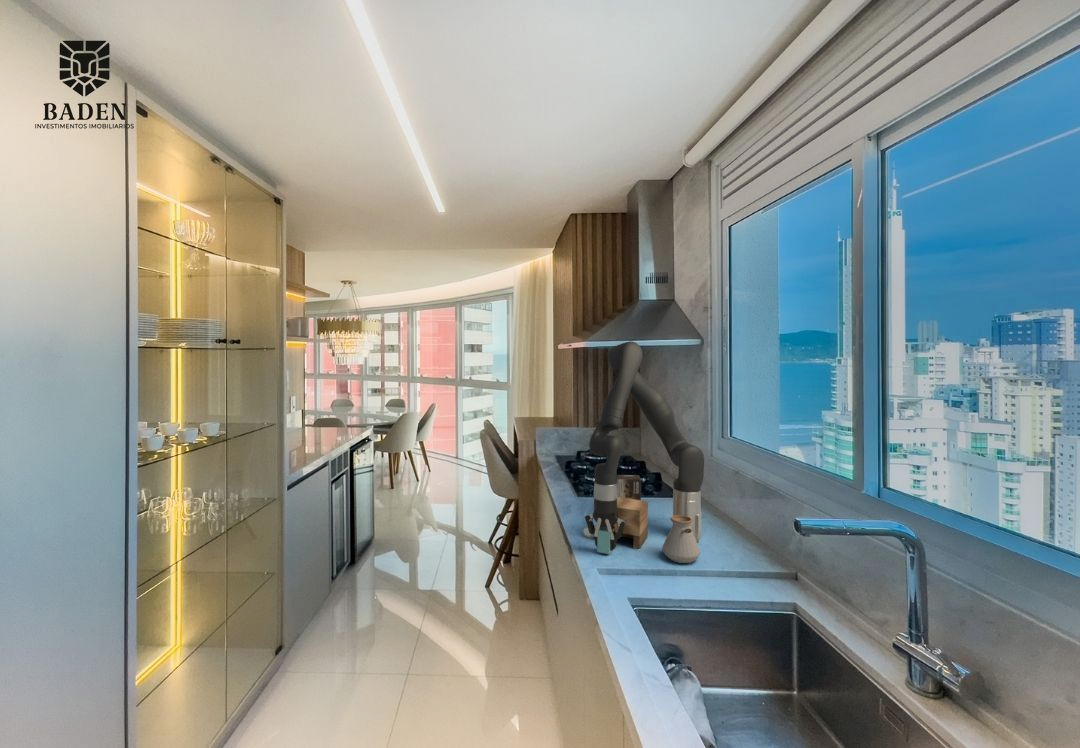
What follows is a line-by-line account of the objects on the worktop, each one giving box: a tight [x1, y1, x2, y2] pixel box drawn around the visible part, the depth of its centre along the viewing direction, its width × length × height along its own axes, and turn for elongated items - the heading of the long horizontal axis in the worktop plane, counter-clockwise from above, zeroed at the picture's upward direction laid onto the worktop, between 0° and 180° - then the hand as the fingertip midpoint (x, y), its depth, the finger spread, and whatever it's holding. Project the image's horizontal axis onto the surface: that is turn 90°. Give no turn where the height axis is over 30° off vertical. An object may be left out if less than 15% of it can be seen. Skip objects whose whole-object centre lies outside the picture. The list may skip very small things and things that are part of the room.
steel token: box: [583, 526, 596, 539], centre depth 162 cm, size 5×5×2 cm
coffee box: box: [616, 474, 642, 501], centre depth 181 cm, size 9×6×16 cm
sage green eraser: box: [596, 528, 619, 555], centre depth 153 cm, size 4×16×7 cm, turn 152°
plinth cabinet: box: [614, 497, 649, 550], centre depth 158 cm, size 14×11×13 cm
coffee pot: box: [662, 515, 701, 564], centre depth 138 cm, size 21×12×15 cm, turn 172°
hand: (605, 548), depth 147 cm, fingers closed on sage green eraser, 4 cm apart
